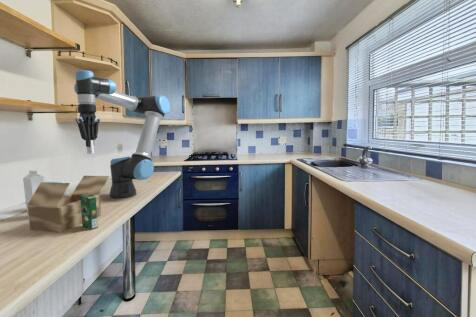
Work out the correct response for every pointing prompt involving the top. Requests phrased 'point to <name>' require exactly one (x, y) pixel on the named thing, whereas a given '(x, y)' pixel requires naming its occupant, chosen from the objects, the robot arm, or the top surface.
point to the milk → (31, 185)
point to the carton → (60, 214)
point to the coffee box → (89, 211)
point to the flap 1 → (49, 194)
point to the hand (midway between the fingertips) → (90, 153)
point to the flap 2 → (91, 184)
